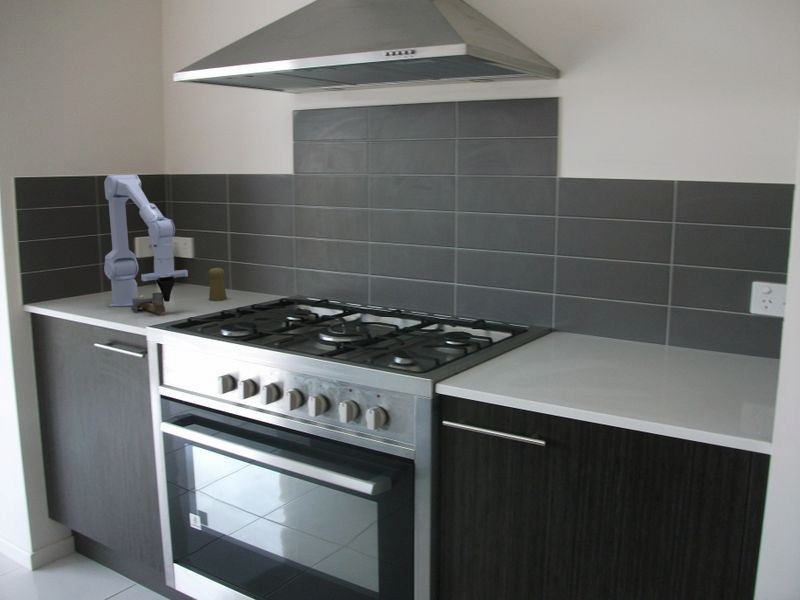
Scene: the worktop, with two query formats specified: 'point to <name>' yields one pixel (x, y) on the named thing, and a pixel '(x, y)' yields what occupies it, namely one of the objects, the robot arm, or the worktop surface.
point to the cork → (217, 285)
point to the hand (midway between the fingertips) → (166, 301)
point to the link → (154, 304)
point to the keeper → (138, 300)
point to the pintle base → (137, 307)
